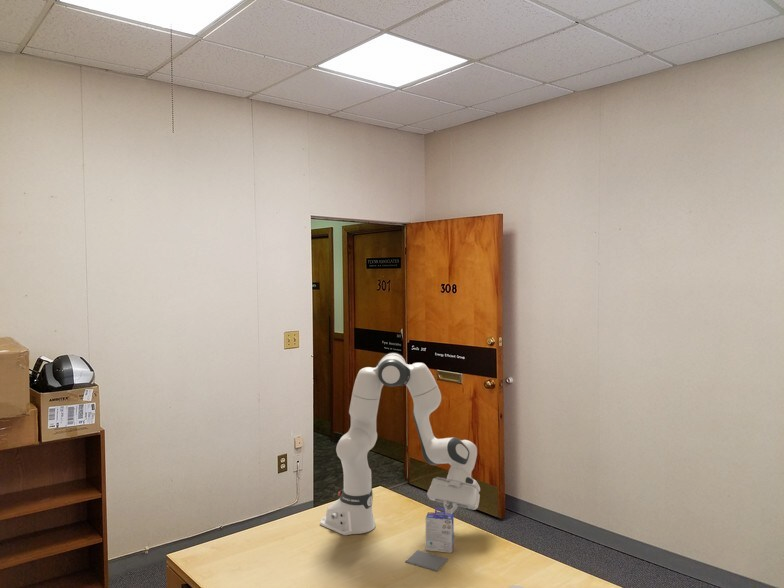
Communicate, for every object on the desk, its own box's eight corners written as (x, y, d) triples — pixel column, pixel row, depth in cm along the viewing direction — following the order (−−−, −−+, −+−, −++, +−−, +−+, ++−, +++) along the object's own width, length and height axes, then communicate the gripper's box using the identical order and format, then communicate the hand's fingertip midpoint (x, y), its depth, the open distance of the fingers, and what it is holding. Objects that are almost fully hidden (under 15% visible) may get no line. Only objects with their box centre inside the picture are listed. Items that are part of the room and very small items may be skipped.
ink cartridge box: (454, 546, 203) (454, 507, 202) (452, 553, 197) (452, 513, 197) (427, 543, 205) (427, 505, 204) (425, 550, 199) (425, 511, 199)
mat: (405, 562, 191) (405, 560, 191) (417, 551, 199) (417, 549, 199) (436, 571, 185) (436, 570, 185) (448, 559, 193) (448, 558, 193)
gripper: (431, 472, 218) (420, 505, 210) (480, 481, 208) (470, 517, 200) (436, 479, 222) (425, 512, 214) (484, 489, 212) (474, 524, 204)
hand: (447, 514), depth 207 cm, fingers closed
